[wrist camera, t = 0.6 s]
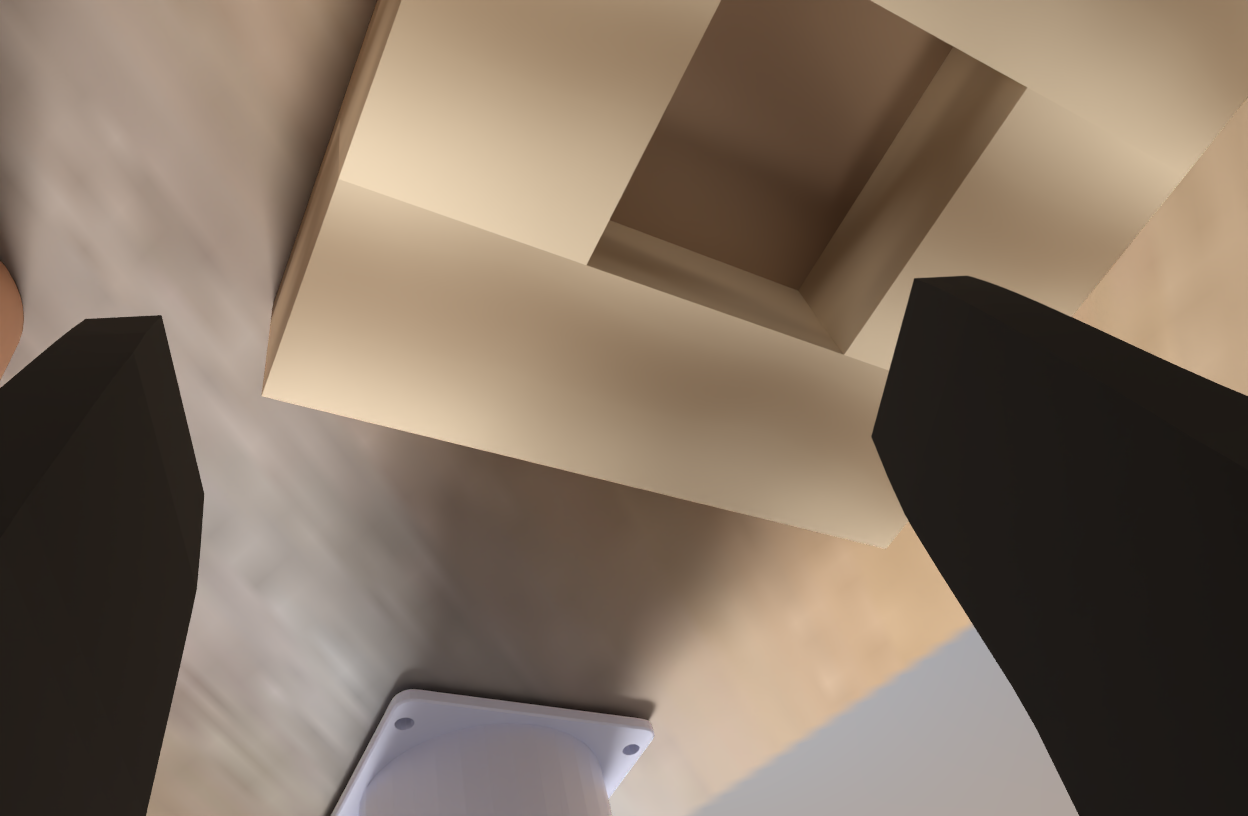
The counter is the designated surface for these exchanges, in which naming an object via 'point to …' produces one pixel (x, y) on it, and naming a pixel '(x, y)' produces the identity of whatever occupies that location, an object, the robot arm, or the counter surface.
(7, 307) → the terracotta peg
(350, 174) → the oak socket block
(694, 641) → the counter surface
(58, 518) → the robot arm
